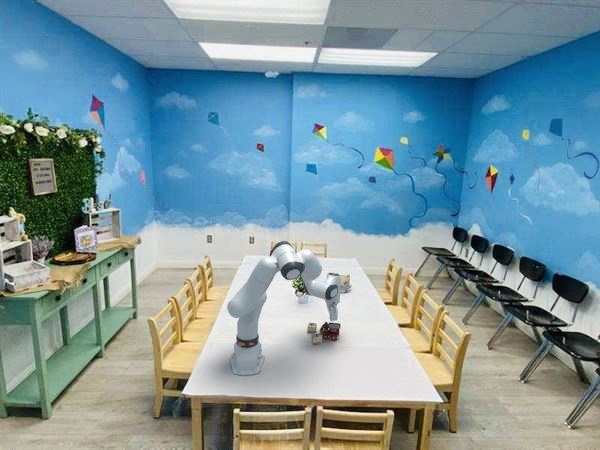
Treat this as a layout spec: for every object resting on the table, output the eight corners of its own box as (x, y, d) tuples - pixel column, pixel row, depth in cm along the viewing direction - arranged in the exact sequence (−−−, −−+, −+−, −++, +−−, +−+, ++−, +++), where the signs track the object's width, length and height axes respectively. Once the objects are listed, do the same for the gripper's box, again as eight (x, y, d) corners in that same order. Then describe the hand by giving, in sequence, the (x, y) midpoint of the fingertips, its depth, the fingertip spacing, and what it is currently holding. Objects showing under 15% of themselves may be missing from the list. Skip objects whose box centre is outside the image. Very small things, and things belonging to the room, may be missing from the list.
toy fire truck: (320, 333, 237) (321, 318, 235) (340, 336, 235) (341, 320, 232) (318, 339, 230) (319, 323, 228) (339, 341, 228) (340, 326, 226)
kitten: (331, 293, 297) (332, 275, 294) (333, 288, 307) (334, 270, 303) (350, 295, 294) (351, 277, 290) (351, 290, 303) (352, 272, 300)
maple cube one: (321, 345, 224) (322, 337, 223) (313, 345, 223) (313, 338, 222) (318, 340, 229) (319, 332, 228) (311, 341, 228) (311, 333, 226)
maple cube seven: (315, 334, 236) (315, 326, 234) (307, 333, 236) (307, 326, 235) (316, 330, 240) (316, 323, 239) (308, 329, 241) (308, 322, 240)
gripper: (340, 306, 216) (339, 328, 219) (334, 291, 236) (333, 312, 239) (329, 306, 216) (328, 328, 219) (324, 292, 235) (323, 312, 239)
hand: (331, 320), depth 229 cm, fingers closed
